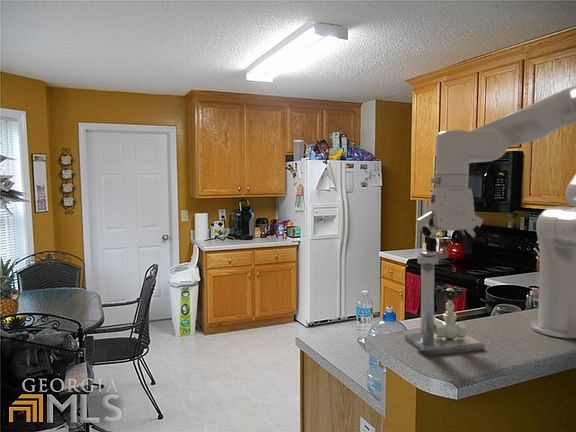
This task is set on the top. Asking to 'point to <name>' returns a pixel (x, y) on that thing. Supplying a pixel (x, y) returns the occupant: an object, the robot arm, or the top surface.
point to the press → (427, 337)
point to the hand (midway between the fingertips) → (449, 253)
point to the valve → (450, 315)
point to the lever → (432, 258)
